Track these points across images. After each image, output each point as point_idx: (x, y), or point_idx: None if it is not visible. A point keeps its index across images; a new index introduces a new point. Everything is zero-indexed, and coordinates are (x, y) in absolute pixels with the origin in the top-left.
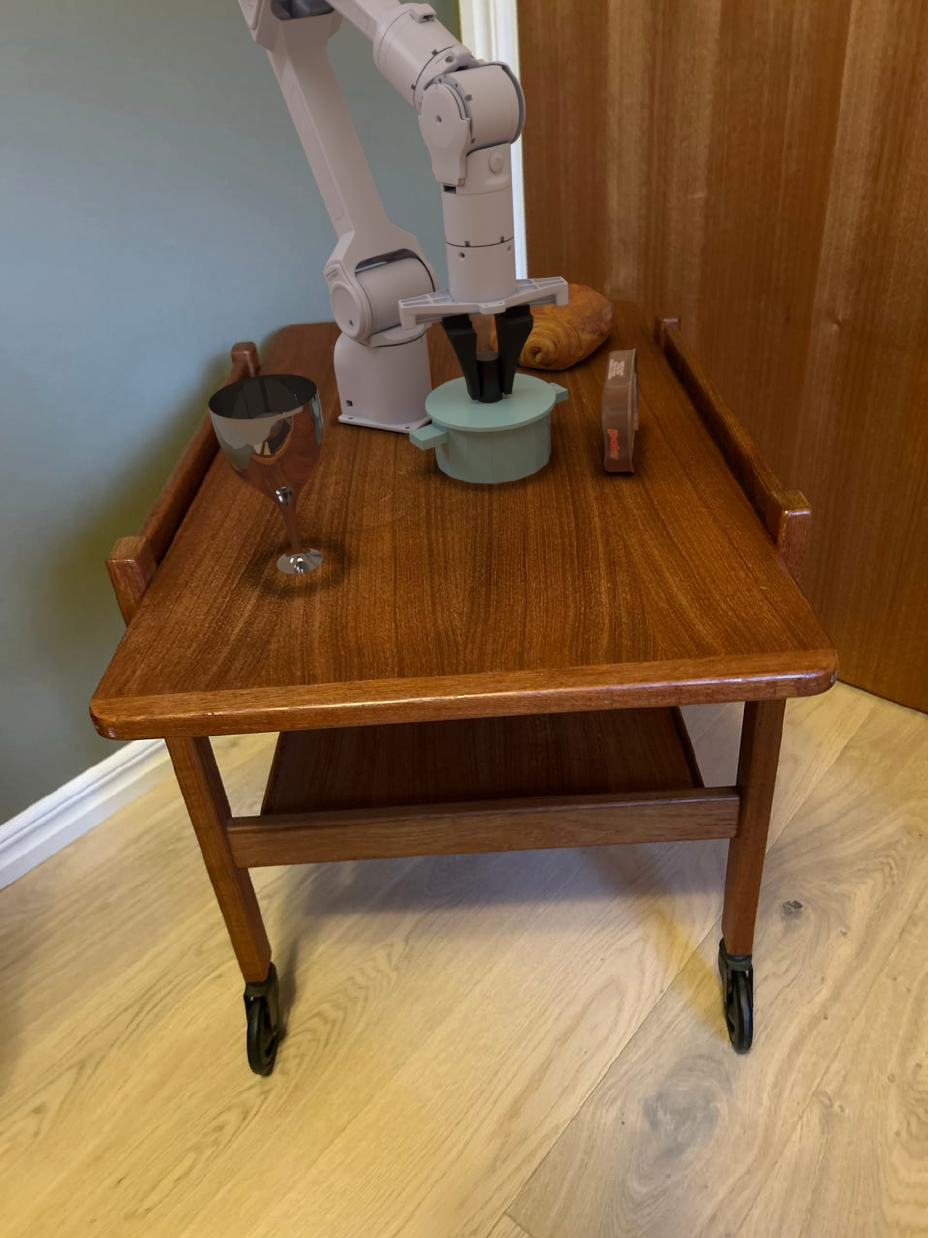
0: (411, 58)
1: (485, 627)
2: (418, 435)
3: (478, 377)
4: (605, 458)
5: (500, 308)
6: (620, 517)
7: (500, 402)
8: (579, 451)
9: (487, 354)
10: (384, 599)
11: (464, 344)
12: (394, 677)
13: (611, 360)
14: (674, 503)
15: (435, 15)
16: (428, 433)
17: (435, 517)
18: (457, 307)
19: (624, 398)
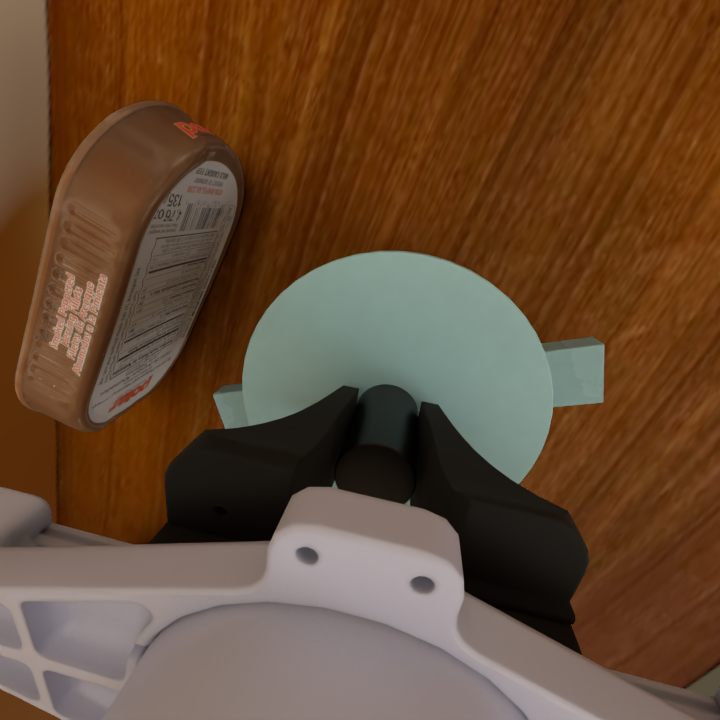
0: None
1: None
2: (596, 372)
3: (415, 439)
4: (235, 156)
5: (328, 507)
6: (279, 28)
7: (376, 377)
8: (257, 310)
9: (370, 486)
10: None
11: (499, 489)
12: None
13: (79, 369)
14: (170, 34)
15: None
16: (569, 370)
17: (593, 214)
18: (581, 689)
19: (97, 156)
